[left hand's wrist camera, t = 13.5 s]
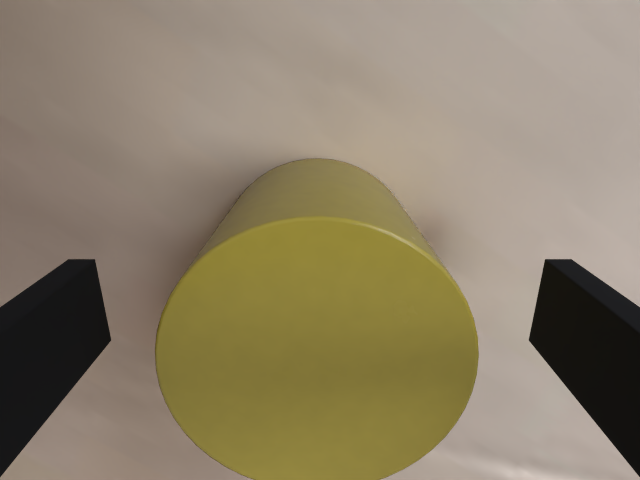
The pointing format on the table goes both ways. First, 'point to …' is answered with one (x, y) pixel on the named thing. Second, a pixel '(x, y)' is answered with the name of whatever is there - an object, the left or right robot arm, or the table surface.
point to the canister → (316, 333)
